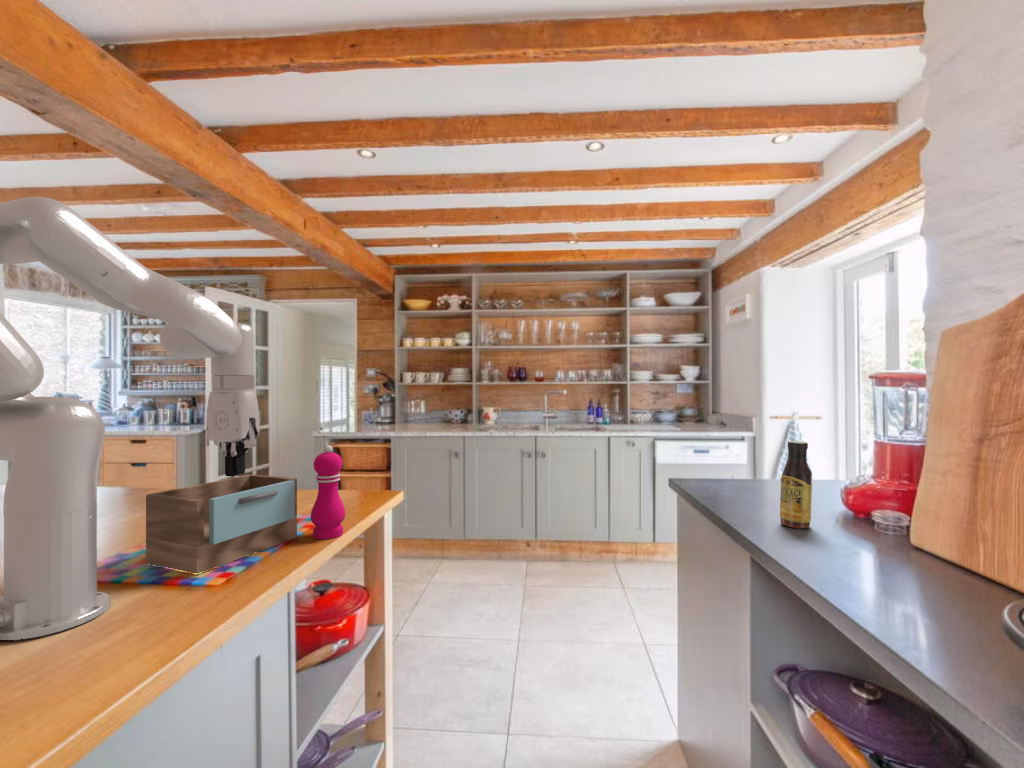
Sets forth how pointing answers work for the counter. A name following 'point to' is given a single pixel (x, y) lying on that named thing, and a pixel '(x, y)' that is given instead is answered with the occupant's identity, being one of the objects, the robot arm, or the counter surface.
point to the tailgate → (250, 510)
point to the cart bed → (205, 526)
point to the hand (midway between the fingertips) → (235, 474)
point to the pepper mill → (327, 496)
